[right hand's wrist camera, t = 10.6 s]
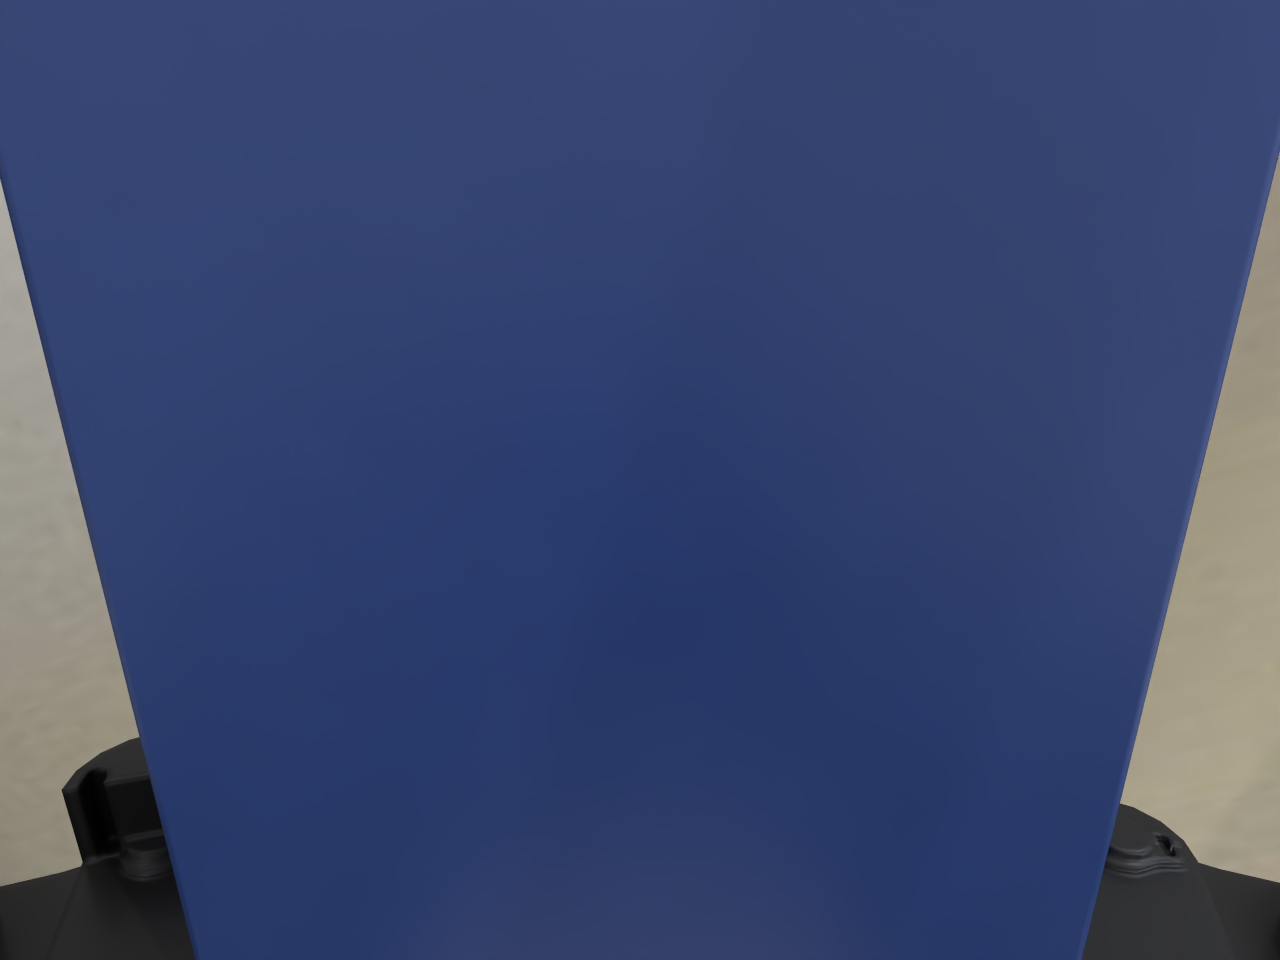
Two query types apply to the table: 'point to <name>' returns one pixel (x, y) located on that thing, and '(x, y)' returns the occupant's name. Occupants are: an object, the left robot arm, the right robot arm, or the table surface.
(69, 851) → the table surface
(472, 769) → the bar
